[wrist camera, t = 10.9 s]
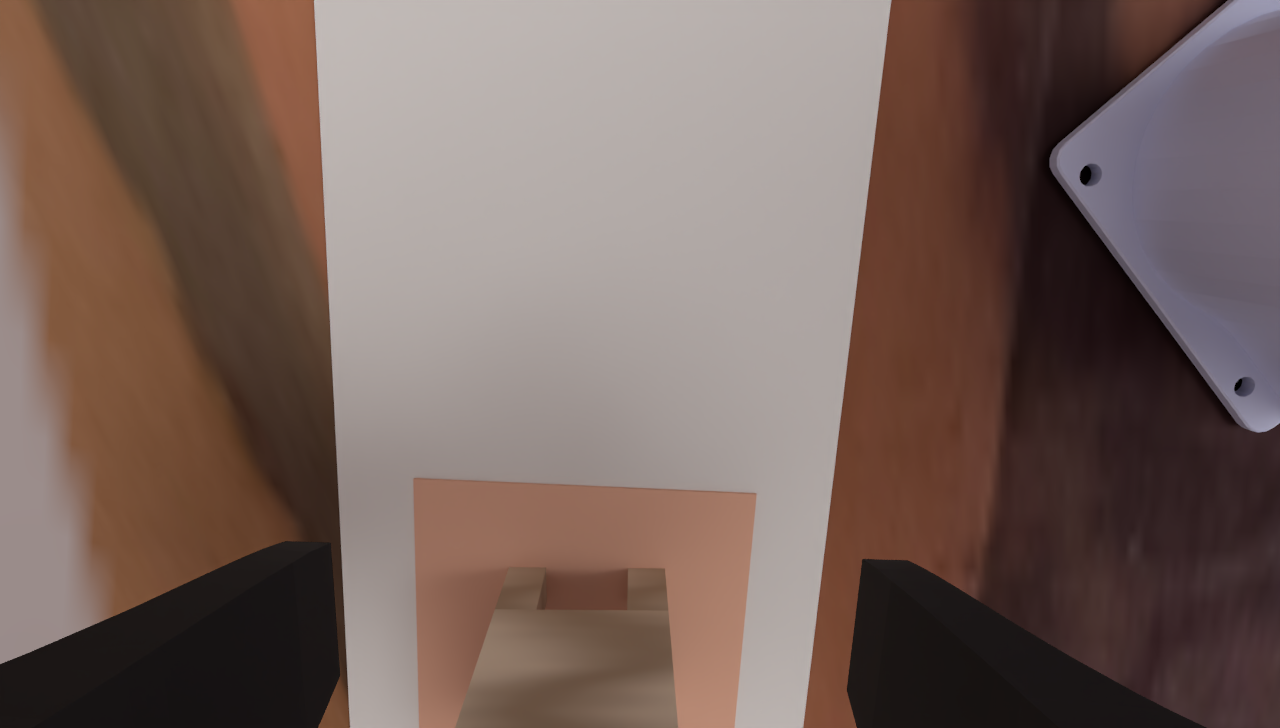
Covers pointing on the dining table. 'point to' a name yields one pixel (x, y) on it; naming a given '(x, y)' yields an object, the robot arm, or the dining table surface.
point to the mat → (591, 325)
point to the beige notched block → (574, 660)
